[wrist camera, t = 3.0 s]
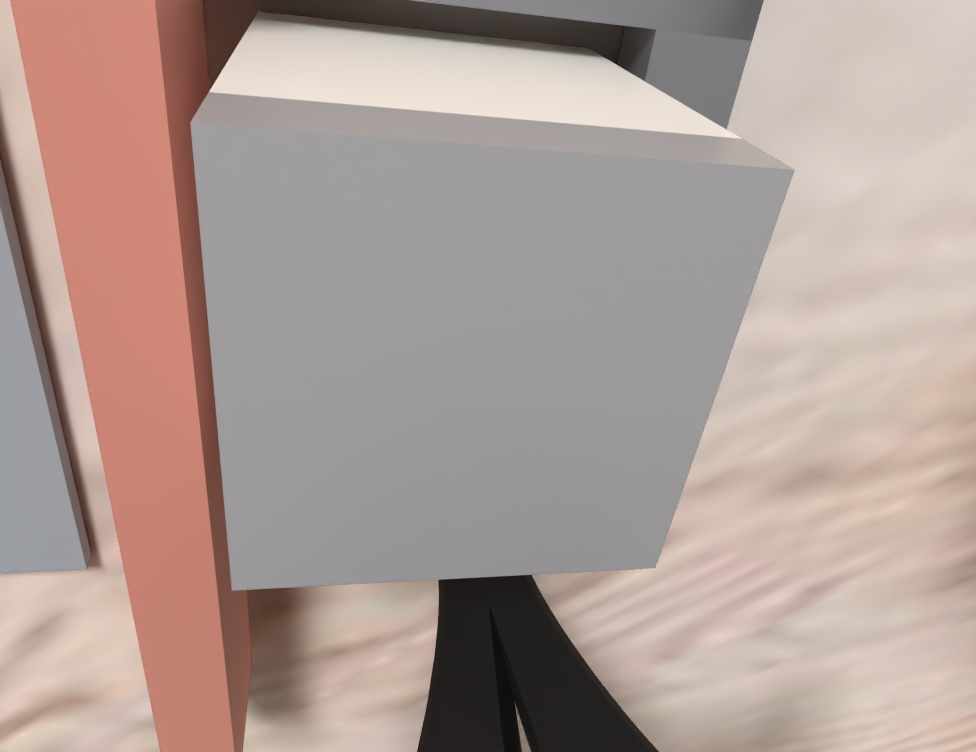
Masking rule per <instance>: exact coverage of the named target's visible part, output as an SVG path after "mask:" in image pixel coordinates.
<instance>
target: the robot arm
mask: <svg viewBox="0 0 976 752" xmlns="http://www.w3.org/2000/svg"><path fill="white" fill-rule="evenodd" d="M438 581H439V614H438V629H437V639H436V648H435V657H434V663H433V670H432V677H431V683H430V690H429V696H428V702H427V708H426V713H425V718H424V722H423V727H422V732H421V736H420V741H419V746H418V751H417V752H522V750H521V743H520V736H519V729H518V722H517V715H516V708H515V704H516V707H517V710H518V713H519V716H520V719H521V722H522V725H523V728H524V731H525V734H526V737H527V740H528V743H529V746H530V749H531V752H658V750H657V749H656V748H655V747H654V746H653V745H652V744H651V743H650V742H649V740H648V739H647V738H646V737H645V736H644V735H643V734H642V732H641V731H640V730H639V729H638V728H637V727H636V725H635V724H634V723H633V722H632V721H631V719H630V718H629V717H628V716H627V715H626V713H625V712H624V711H623V710H622V709H621V707H620V706H619V705H618V704H617V702H616V701H615V700H614V699H613V697H612V696H611V695H610V694H609V692H608V691H607V690H606V689H605V687H604V686H603V685H602V683H601V682H600V681H599V679H598V678H597V677H596V675H595V674H594V673H593V671H592V670H591V669H590V668H589V666H588V665H587V663H586V662H585V660H584V659H583V658H582V656H581V655H580V653H579V652H578V651H577V649H576V648H575V646H574V645H573V643H572V642H571V641H570V639H569V638H568V636H567V635H566V633H565V632H564V630H563V629H562V627H561V626H560V624H559V623H558V621H557V620H556V618H555V616H554V615H553V613H552V611H551V610H550V608H549V606H548V605H547V603H546V601H545V600H544V598H543V596H542V594H541V593H540V591H539V589H538V587H537V585H536V583H535V581H534V579H533V577H532V575H516V576H497V577H478V578H459V579H441V580H438Z"/></svg>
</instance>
